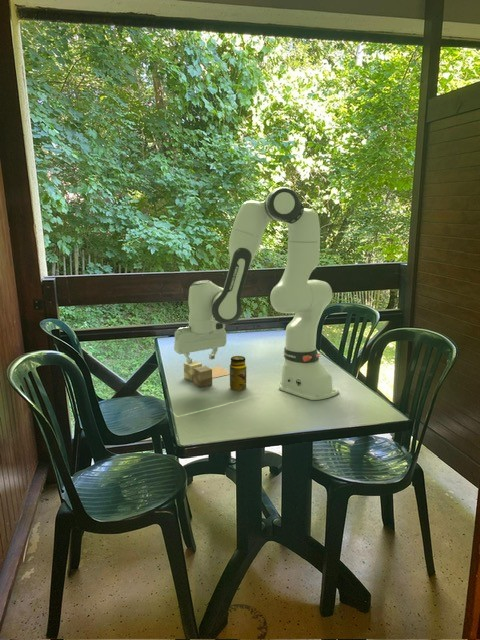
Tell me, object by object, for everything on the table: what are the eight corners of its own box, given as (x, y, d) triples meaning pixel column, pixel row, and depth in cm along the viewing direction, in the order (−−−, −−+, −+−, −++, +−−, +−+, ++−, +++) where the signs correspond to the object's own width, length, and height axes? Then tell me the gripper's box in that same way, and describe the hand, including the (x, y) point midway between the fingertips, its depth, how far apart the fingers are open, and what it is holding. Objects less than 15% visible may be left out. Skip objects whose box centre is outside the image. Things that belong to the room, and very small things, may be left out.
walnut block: (212, 384, 161) (212, 369, 160) (200, 387, 159) (200, 371, 157) (205, 380, 165) (205, 365, 164) (194, 383, 163) (193, 368, 161)
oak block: (202, 378, 168) (201, 363, 167) (192, 381, 165) (191, 366, 164) (194, 375, 172) (193, 360, 171) (184, 378, 168) (183, 363, 167)
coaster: (232, 374, 173) (232, 373, 173) (209, 380, 167) (208, 378, 167) (218, 367, 182) (218, 366, 182) (195, 372, 176) (195, 371, 176)
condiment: (249, 391, 156) (249, 359, 153) (226, 393, 154) (225, 361, 151) (244, 384, 163) (244, 353, 160) (222, 386, 161) (222, 355, 158)
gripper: (178, 330, 149) (179, 368, 152) (229, 323, 160) (228, 359, 163) (170, 326, 154) (171, 363, 157) (220, 319, 165) (219, 354, 168)
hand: (200, 361), depth 160 cm, fingers open, 8 cm apart
